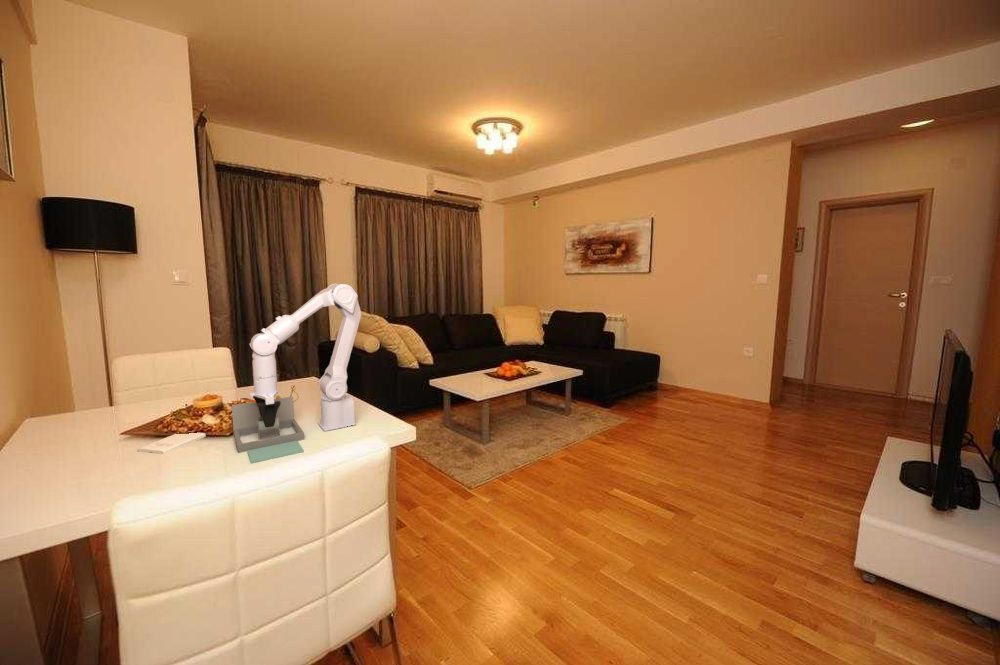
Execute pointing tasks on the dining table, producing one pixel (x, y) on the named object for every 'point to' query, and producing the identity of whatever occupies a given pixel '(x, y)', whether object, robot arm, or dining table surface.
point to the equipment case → (247, 424)
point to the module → (267, 429)
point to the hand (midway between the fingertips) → (267, 422)
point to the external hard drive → (171, 443)
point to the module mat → (274, 451)
